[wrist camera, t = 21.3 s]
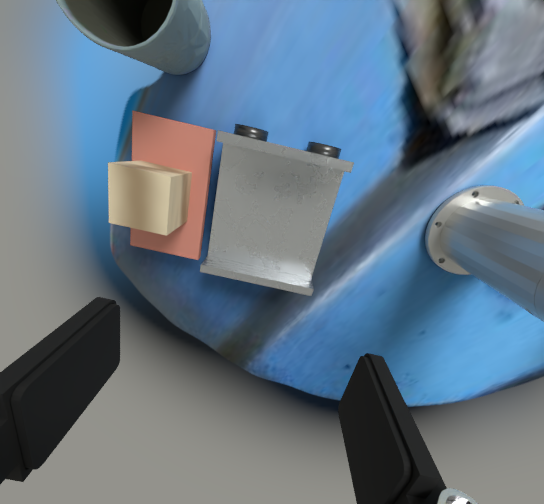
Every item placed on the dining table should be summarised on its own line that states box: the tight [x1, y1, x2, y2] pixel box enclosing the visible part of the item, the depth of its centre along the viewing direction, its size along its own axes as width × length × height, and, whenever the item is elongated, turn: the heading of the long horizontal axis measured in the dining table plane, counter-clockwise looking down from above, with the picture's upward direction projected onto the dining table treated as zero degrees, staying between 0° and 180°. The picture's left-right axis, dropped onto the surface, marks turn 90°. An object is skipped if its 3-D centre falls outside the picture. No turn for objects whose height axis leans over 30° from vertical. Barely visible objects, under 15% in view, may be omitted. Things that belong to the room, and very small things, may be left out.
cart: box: [200, 124, 354, 296], centre depth 33 cm, size 14×18×8 cm
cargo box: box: [108, 161, 192, 236], centre depth 28 cm, size 6×6×6 cm
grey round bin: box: [56, 0, 211, 75], centre depth 24 cm, size 10×10×12 cm
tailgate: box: [130, 111, 216, 260], centre depth 32 cm, size 1×16×9 cm
